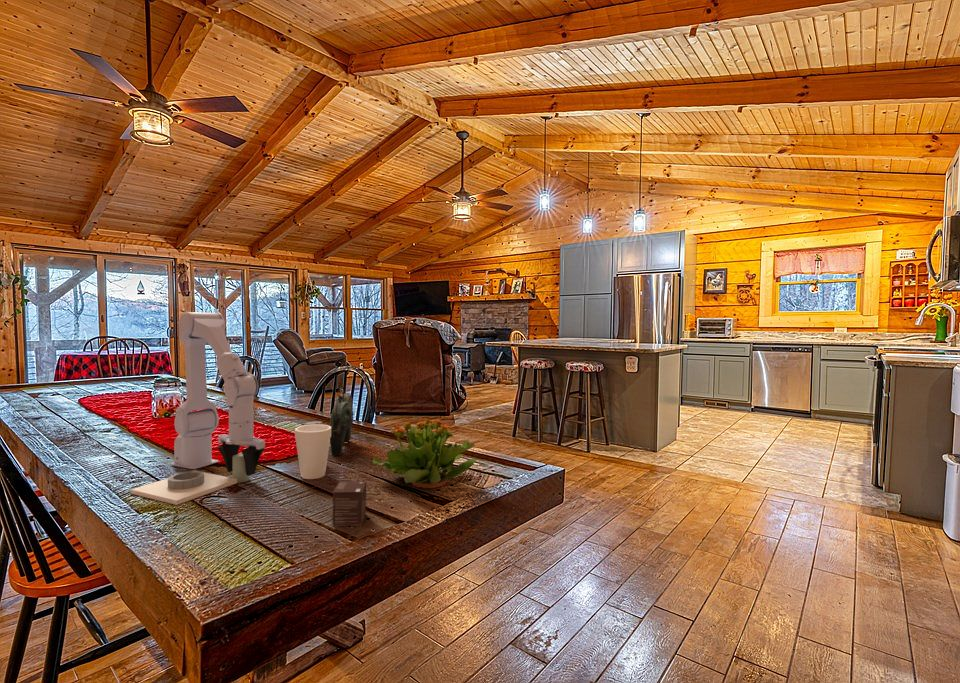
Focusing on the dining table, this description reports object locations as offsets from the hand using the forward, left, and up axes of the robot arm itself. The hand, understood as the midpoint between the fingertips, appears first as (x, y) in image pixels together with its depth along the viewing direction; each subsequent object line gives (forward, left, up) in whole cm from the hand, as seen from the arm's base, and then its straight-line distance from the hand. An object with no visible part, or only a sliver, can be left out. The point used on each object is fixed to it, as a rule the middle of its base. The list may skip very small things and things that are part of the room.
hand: (241, 472), depth 122 cm
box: (+41, -8, -2) cm, 42 cm away
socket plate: (-7, -10, -2) cm, 12 cm away
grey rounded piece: (0, 0, -2) cm, 2 cm away
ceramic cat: (+3, +37, -2) cm, 37 cm away
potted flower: (+46, +20, -2) cm, 50 cm away
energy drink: (+6, +20, -2) cm, 21 cm away
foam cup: (+14, +11, -2) cm, 18 cm away
